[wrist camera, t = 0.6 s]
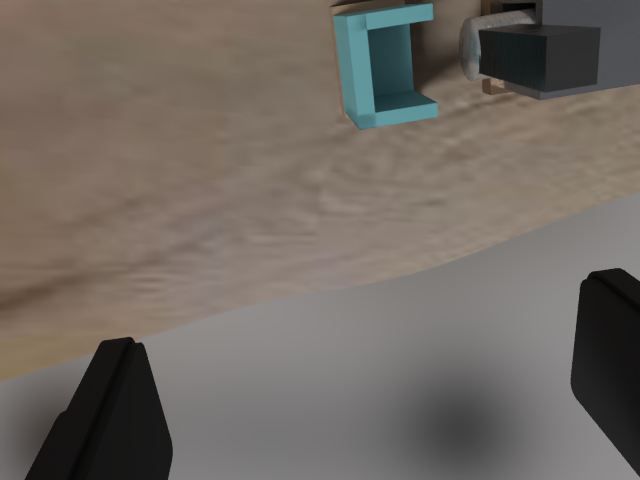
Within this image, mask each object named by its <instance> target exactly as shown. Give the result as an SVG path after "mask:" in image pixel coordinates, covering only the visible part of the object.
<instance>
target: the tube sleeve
mask: <svg viewBox="0 0 640 480" xmlns="http://www.w3.org/2000/svg"><path fill="white" fill-rule="evenodd" d="M530 8H536V15H535V24H543V25H563V26H583V27H601V34H600V48H599V62H598V76H597V84H596V85H590V86H583V87H577V88H571V89H565V90H559V91H553V92H547V93H544V92H541V91H537V90H534V89H531V88H527V87H524V86H520V85H517V84H514V83H510V82H507V81H503V80H500V79H496V78H487V79H482V82H483V92H484V93H487V94H489V95H495V94H501V93H507V92H516V93H520V94H523V95H526V96H529V97H532V98H535V99H538V100H544V99H550V98H556V97H562V96H568V95H575V94H581V93H587V92H593V91H599V90H605V89H611V88H617V87H623V86H630V85H636V84H640V0H481V15H482V16H485V15H492V14H498V13H504V12H511V11H517V10H523V9H530Z"/></svg>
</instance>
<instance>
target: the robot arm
mask: <svg viewBox="0 0 640 480" xmlns="http://www.w3.org/2000/svg"><path fill="white" fill-rule="evenodd" d="M571 388H572V391H573V393H574V396H575V397H576V399H577V400H578V401H579V403H580V404H581V405H582V406H583V407H584V409H585V410H586V411H587V412H588V414H589V415H590V416H591V417H592V419H593V420H594V421H595V422H596V423H597V425H598V426H599V427H600V428H601V430H602V431H603V432H604V433H605V435H606V436H607V437H608V438H609V439H610V441H611V442H612V443H613V445H614V446H615V447H616V448H617V449H618V451H619V452H620V453H621V454H622V456H623V457H624V458H625V459H626V460H627V462H628V463H629V464H630V466H631V467H632V468H633V469H634V471H636V473H637V474H638V475H639V477H640V281H639V280H637V279H636V278H634V277H633V276H631V275H630V274H629V273H627V272H626V271H624V270H623V269H621V268H615V269H609V270H601V271H594V272H591V273H590V274H589V275H588V277H587V279H585V280H583V281H582V283H581V286H580V294H579V304H578V313H577V323H576V332H575V342H574V352H573V362H572V371H571ZM172 456H173V447H172V441H171V437H170V433H169V430H168V426H167V423H166V420H165V416H164V413H163V410H162V406H161V402H160V399H159V395H158V392H157V388H156V385H155V381H154V378H153V374H152V371H151V367H150V364H149V361H148V357H147V353H146V350H145V347H144V345H143V344H142V343H141V342H140V343H135V341H134V340H133V338H131V337H126V338H119V339H111V340H104V341H102V342H101V343H100V345H99V347H98V349H97V351H96V353H95V355H94V357H93V359H92V361H91V363H90V364H89V367H88V368H87V371H86V372H85V374H84V376H83V378H82V380H81V382H80V384H79V386H78V388H77V390H76V392H75V394H74V396H73V398H72V400H71V402H70V404H69V406H68V408H67V410H66V411H64V412H62V413H60V414H59V416H58V417H57V419H56V420H55V422H54V424H53V426H52V428H51V430H50V432H49V434H48V436H47V438H46V440H45V441H44V443H43V445H42V448H41V449H40V451H39V453H38V455H37V457H36V459H35V461H34V463H33V464H32V467H31V468H30V470H29V472H28V474H27V476H26V478H25V480H168V476H169V472H170V467H171V462H172Z"/></svg>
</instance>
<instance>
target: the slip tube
mask: <svg viewBox="0 0 640 480" xmlns="http://www.w3.org/2000/svg"><path fill="white" fill-rule="evenodd" d="M535 15H536V8H530V9H523V10H517V11H511V12H504V13H498V14H492V15H485V16H479V17H473V18H467V19H466V20H465V21H464V22H463V24H462V27H461V32H460V40H459V50H460V60H461V65H462V69H463V72H464V74H465V76H466V78H467V79H468V80H470V81H474V80H480V79H487V78H496V79H500V80H503V81H507V82H510V83H514V84H517V85H520V86H524V87H527V88H531V89H534V90H537V91H541V92H544V93H547V92H553V91H559V90H565V89H571V88H577V87H583V86H590V85H596V84H597V76H598V62H599V48H600V34H601V27H583V26H563V25H543V24H535Z"/></svg>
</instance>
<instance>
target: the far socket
mask: <svg viewBox="0 0 640 480" xmlns="http://www.w3.org/2000/svg"><path fill="white" fill-rule="evenodd" d="M329 8H330V16H331V24H332V32H333V40H334V49H335V57H336V65H337V73H338V81H339V89H340V97H341V105H342V113H343V116H344V117H345V119H347V118H350V119H351V120H352V121H353V122H354V124H355V125H356V126H357V127H358V129H359V130H361V129H367V128H373V127H379V126H385V125H391V124H397V123H404V122H410V121H416V120H422V119H428V118H434V117H438V103H437V102H435V101H433V100H431V99H429V98H428V97H426V96H424V95H422V94H420V93H418V92H416V91H415V90H414V85H413V70H412V55H411V40H410V25H409V23H415V22H421V21H427V20H433V3H427V4H405V0H373V1H366V2H360V3H353V4H347V5H341V6H334V7H329Z"/></svg>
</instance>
